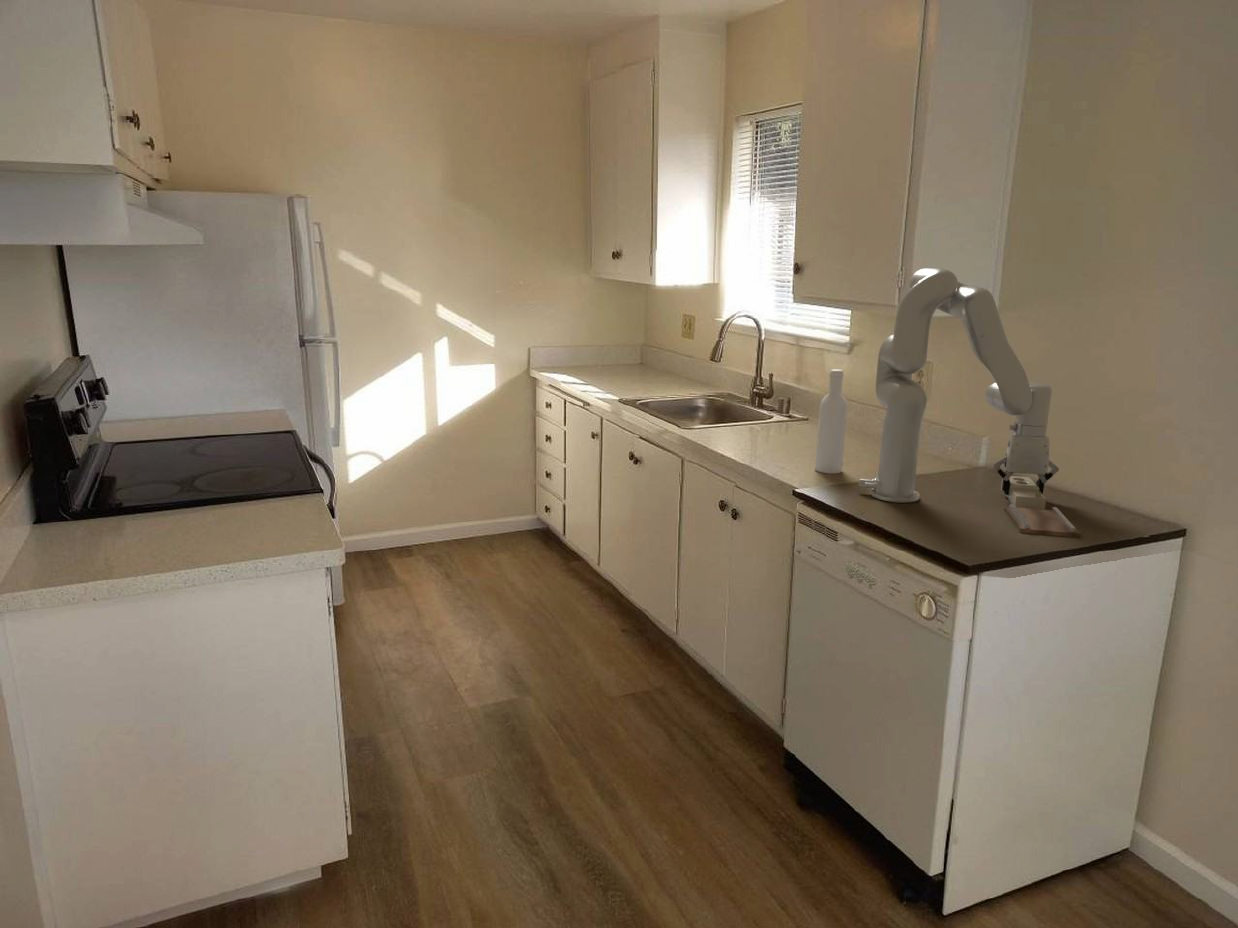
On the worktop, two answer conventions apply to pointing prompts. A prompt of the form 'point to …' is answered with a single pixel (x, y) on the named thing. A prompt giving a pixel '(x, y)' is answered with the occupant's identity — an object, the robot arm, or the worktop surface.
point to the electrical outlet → (1025, 493)
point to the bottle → (832, 427)
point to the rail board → (1041, 521)
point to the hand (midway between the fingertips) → (1021, 494)
